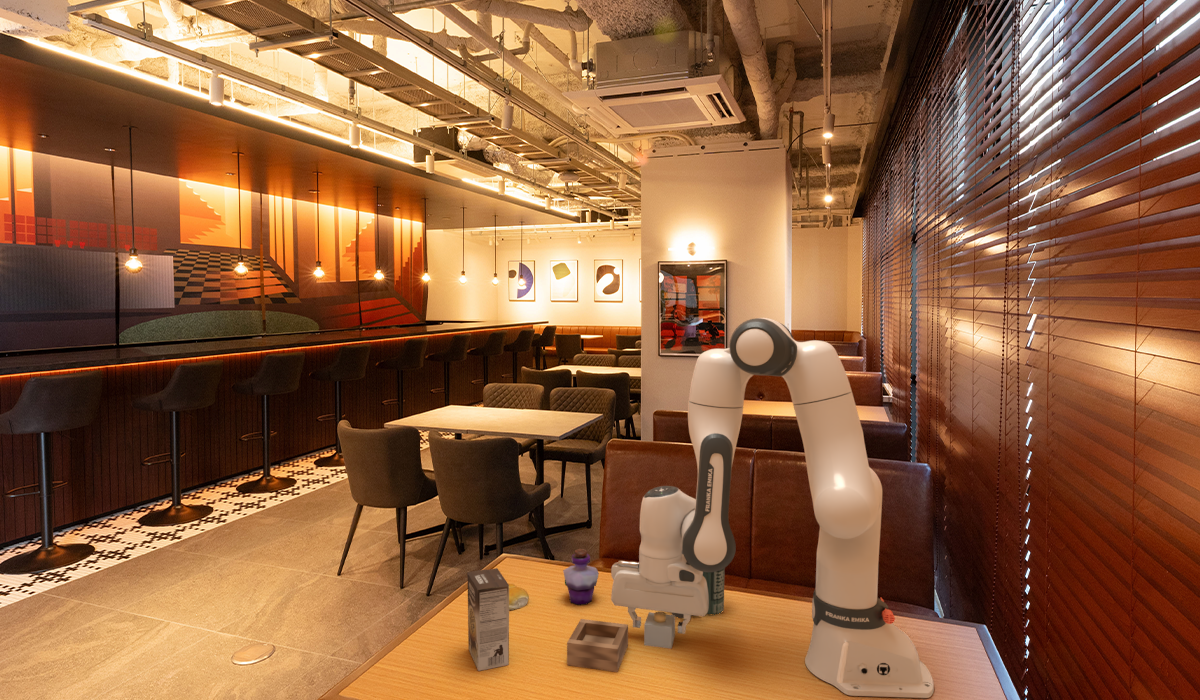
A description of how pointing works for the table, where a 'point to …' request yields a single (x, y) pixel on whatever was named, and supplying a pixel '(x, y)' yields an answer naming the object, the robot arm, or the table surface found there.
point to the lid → (659, 630)
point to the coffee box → (488, 618)
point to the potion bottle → (580, 578)
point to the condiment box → (597, 645)
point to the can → (715, 591)
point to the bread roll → (517, 597)
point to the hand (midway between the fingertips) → (659, 629)
